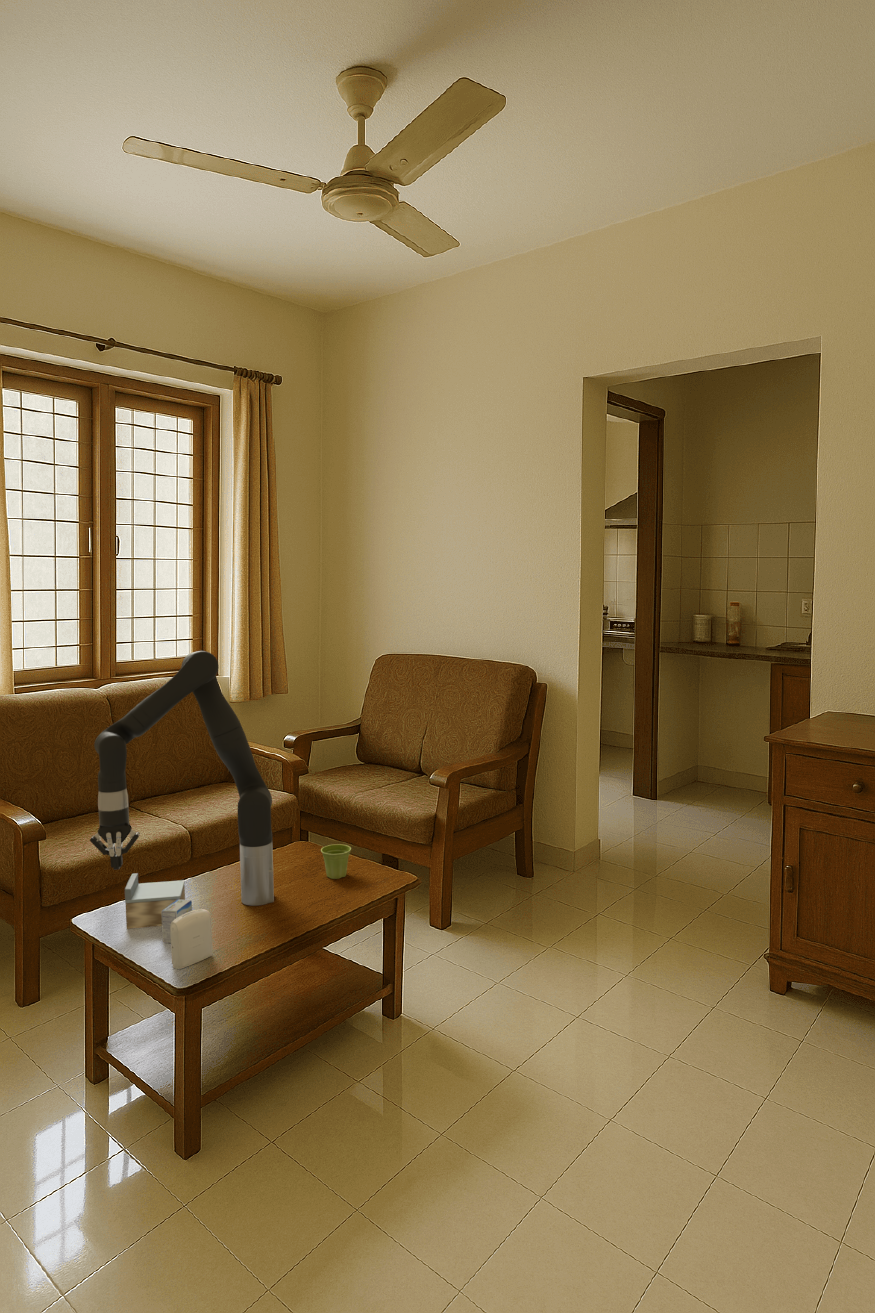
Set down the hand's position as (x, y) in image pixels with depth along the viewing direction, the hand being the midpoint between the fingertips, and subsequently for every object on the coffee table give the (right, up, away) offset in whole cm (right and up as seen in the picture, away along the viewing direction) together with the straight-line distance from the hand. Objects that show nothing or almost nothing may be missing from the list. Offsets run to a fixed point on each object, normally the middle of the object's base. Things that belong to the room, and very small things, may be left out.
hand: (116, 868), depth 221 cm
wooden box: (+10, -15, +4) cm, 18 cm away
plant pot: (+55, -12, +36) cm, 67 cm away
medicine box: (+19, -16, -8) cm, 26 cm away
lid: (+10, -7, +3) cm, 12 cm away
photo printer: (+27, -17, -22) cm, 39 cm away
